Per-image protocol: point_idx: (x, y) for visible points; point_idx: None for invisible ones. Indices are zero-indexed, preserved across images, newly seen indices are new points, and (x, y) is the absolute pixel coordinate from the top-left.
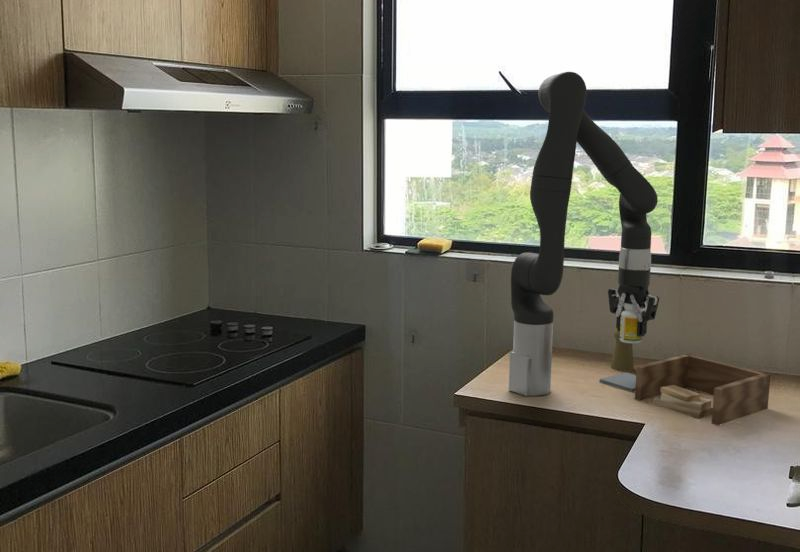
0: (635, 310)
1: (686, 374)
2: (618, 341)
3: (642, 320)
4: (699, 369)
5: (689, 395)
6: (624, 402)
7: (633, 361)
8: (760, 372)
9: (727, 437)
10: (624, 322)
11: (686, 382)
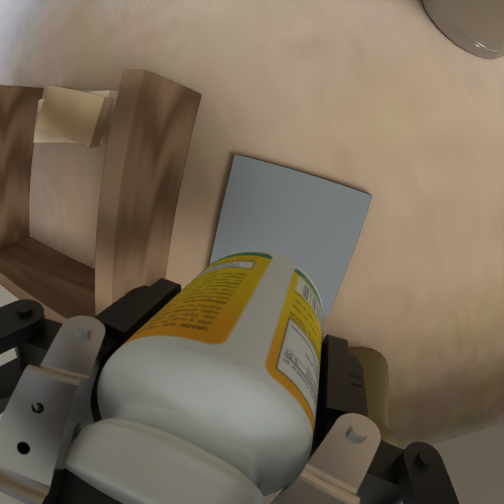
0: (61, 388)
1: None
2: (375, 419)
3: (69, 318)
4: (87, 305)
5: (47, 98)
6: (213, 51)
7: None
8: None
9: (25, 56)
10: (244, 316)
11: None
